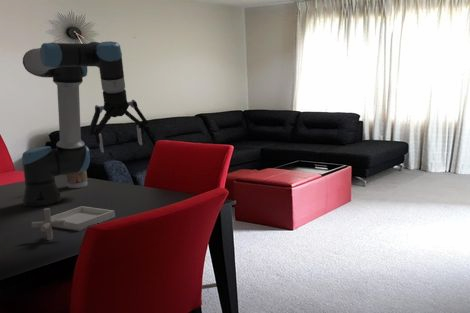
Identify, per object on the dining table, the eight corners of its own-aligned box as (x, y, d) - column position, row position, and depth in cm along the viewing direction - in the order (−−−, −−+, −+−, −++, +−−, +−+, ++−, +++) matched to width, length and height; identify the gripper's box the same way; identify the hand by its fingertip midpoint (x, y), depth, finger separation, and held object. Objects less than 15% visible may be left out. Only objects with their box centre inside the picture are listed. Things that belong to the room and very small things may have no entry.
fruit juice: (66, 189, 216) (60, 131, 211) (68, 185, 225) (63, 129, 220) (87, 187, 218) (81, 130, 213) (88, 183, 227) (83, 128, 222)
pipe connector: (39, 235, 149) (36, 205, 147) (70, 233, 150) (67, 203, 148) (28, 245, 139) (24, 214, 137) (61, 243, 140) (58, 212, 138)
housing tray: (45, 225, 160) (44, 218, 159) (82, 212, 174) (82, 206, 174) (78, 231, 151) (78, 223, 151) (115, 217, 166) (114, 210, 165)
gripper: (77, 98, 142) (87, 158, 151) (153, 87, 152) (158, 144, 161) (73, 92, 148) (83, 150, 157) (147, 81, 158) (152, 137, 167)
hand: (121, 147), depth 159 cm, fingers open, 13 cm apart
